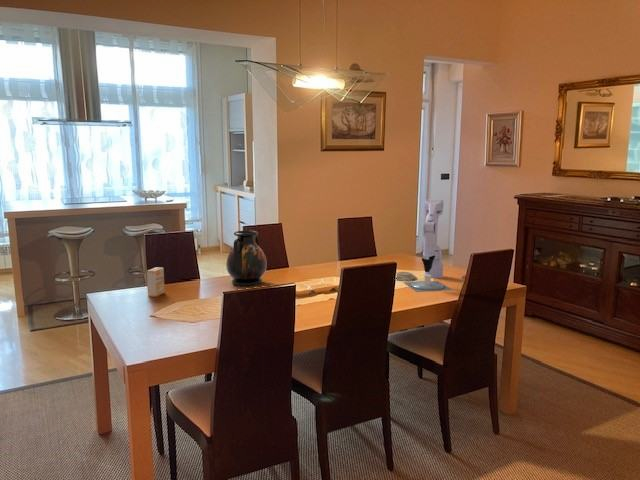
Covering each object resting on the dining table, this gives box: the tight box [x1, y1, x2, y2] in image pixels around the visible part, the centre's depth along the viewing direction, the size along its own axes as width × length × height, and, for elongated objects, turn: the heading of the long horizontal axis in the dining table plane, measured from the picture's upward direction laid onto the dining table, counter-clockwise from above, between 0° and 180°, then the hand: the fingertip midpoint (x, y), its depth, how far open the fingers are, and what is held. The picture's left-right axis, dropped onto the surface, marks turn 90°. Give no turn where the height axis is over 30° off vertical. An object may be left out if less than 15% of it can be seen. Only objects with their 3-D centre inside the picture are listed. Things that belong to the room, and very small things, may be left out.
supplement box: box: [146, 266, 165, 298], centre depth 252 cm, size 8×5×13 cm, turn 168°
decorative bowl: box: [395, 271, 418, 282], centre depth 286 cm, size 15×4×15 cm
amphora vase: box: [225, 230, 268, 287], centre depth 273 cm, size 22×22×28 cm
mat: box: [402, 280, 454, 293], centre depth 269 cm, size 20×20×1 cm
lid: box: [411, 275, 445, 290], centre depth 269 cm, size 17×17×6 cm
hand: (428, 270), depth 268 cm, fingers open, 7 cm apart
